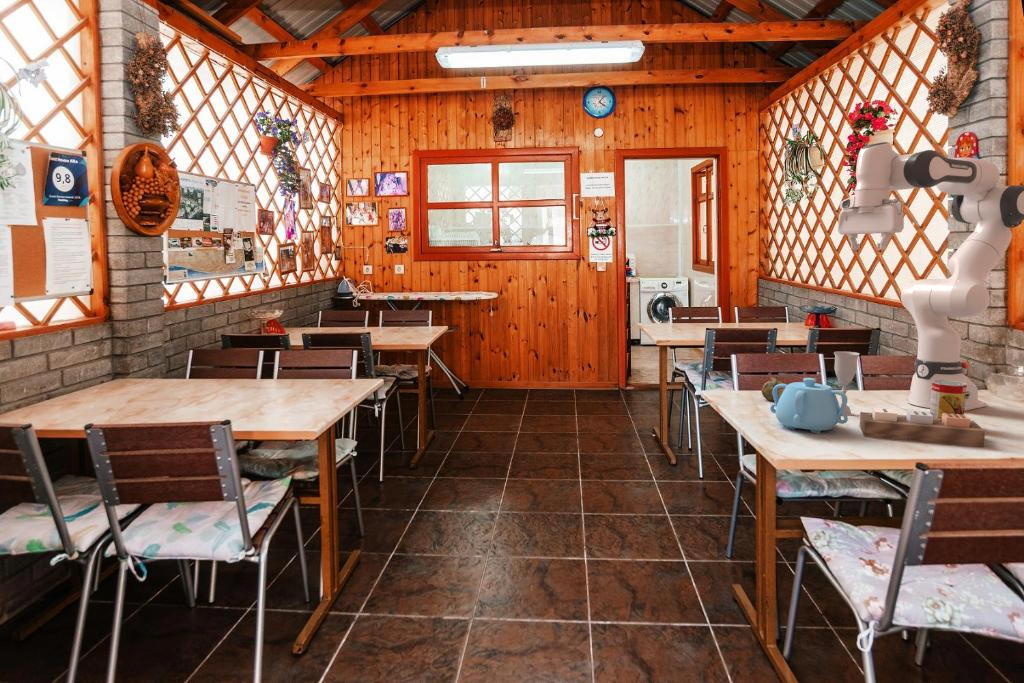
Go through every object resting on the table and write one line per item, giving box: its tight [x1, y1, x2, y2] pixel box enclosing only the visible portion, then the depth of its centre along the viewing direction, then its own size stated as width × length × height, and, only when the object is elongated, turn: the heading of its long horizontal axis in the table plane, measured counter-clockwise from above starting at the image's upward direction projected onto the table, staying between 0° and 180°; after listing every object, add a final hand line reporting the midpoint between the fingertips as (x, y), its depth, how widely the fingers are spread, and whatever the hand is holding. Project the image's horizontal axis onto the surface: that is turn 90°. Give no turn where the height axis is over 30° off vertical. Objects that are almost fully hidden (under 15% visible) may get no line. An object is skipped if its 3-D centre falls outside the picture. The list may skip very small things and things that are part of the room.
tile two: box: [906, 410, 933, 424], centre depth 172 cm, size 5×5×3 cm
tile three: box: [942, 413, 971, 427], centre depth 169 cm, size 5×5×3 cm
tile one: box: [871, 407, 898, 422], centre depth 175 cm, size 5×5×3 cm
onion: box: [761, 376, 785, 402], centre depth 214 cm, size 8×8×8 cm
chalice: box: [833, 350, 860, 416], centre depth 196 cm, size 7×7×18 cm
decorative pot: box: [769, 377, 849, 434], centre depth 180 cm, size 16×16×14 cm
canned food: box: [929, 380, 967, 418], centre depth 183 cm, size 8×8×12 cm
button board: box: [858, 411, 986, 448], centre depth 172 cm, size 26×11×4 cm, turn 68°
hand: (868, 249), depth 193 cm, fingers open, 8 cm apart
